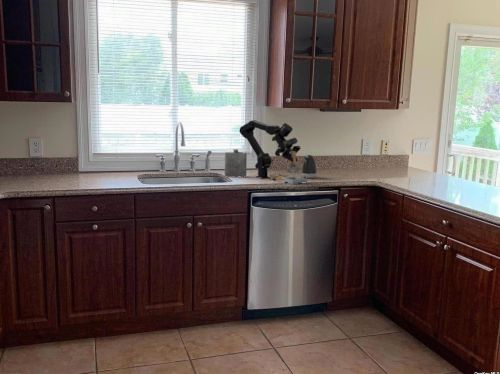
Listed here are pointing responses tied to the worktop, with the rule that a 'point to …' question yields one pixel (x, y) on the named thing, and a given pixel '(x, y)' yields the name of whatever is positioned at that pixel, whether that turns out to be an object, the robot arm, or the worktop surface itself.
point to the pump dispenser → (309, 167)
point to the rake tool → (293, 164)
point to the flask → (235, 163)
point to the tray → (293, 180)
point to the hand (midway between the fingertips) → (294, 161)
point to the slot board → (279, 176)
